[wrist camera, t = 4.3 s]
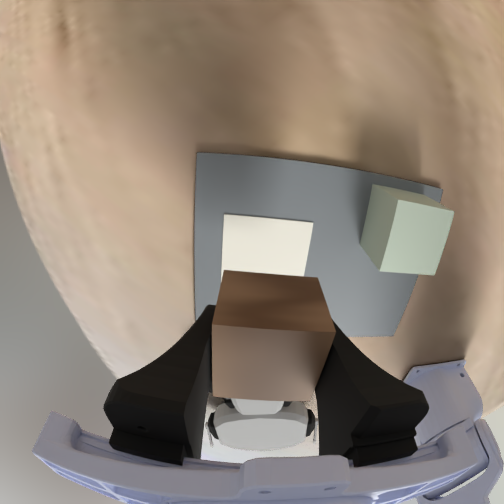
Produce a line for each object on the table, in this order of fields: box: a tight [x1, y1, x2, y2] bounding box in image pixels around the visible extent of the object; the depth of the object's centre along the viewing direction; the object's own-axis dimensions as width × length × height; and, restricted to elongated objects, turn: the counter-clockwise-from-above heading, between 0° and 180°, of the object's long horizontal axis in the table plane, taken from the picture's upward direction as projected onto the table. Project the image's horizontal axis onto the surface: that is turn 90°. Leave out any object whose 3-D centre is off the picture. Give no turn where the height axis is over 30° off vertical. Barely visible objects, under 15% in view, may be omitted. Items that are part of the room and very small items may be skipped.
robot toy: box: [205, 380, 318, 451], centre depth 26 cm, size 12×4×15 cm
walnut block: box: [212, 270, 336, 401], centre depth 12 cm, size 4×4×4 cm
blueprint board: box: [194, 152, 443, 337], centre depth 20 cm, size 18×14×1 cm
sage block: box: [360, 184, 454, 275], centre depth 17 cm, size 4×4×4 cm
